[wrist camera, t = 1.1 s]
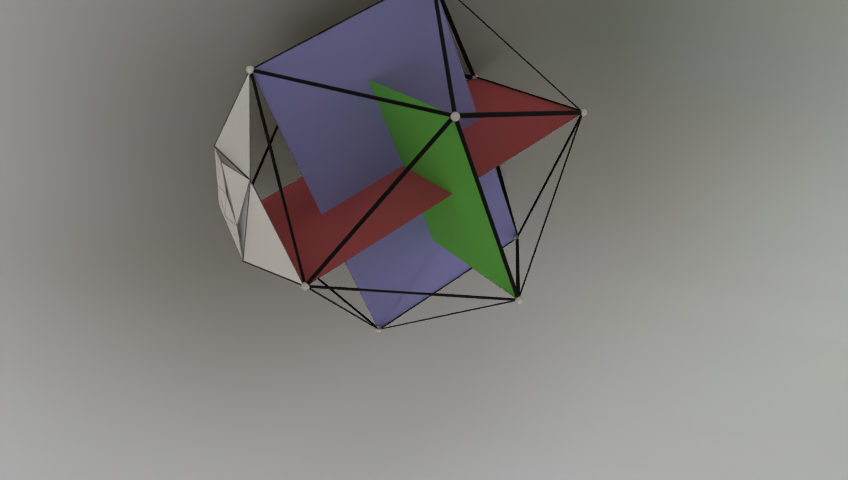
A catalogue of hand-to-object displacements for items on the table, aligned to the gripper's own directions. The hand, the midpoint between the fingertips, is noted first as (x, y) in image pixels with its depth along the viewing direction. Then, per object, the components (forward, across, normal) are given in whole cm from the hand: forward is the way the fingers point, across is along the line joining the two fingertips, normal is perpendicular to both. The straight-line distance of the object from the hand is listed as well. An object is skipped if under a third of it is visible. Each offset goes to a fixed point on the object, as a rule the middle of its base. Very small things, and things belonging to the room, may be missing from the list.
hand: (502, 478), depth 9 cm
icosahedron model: (+12, 0, 0) cm, 12 cm away
